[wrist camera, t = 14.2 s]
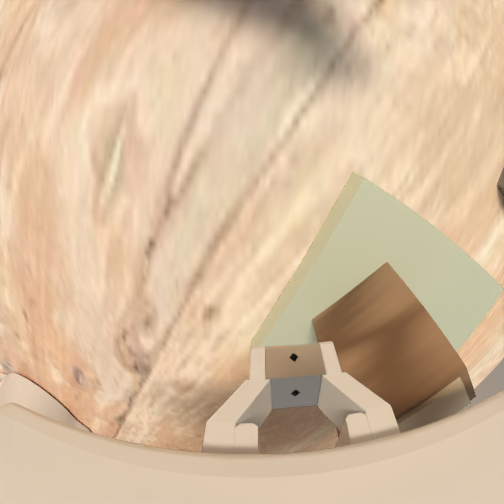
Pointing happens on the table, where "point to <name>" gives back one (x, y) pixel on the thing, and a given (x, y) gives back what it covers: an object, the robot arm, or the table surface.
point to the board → (373, 257)
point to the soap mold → (501, 182)
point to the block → (396, 350)
